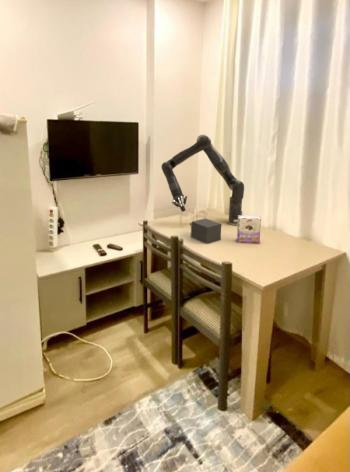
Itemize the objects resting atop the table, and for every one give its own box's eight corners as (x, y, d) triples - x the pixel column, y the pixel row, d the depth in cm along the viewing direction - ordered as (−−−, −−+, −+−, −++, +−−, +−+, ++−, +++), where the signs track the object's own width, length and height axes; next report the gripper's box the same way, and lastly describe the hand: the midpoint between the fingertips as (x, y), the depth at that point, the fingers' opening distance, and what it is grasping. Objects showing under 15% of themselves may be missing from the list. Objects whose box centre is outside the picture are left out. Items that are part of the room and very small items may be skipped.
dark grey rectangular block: (191, 237, 212) (191, 221, 210) (204, 233, 220) (205, 218, 218) (206, 243, 201) (207, 227, 199) (220, 239, 209) (221, 223, 207)
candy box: (258, 240, 209) (259, 215, 206) (259, 243, 203) (261, 218, 200) (236, 239, 210) (237, 214, 207) (237, 242, 204) (238, 217, 201)
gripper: (170, 190, 222) (179, 214, 222) (185, 184, 229) (193, 207, 229) (165, 192, 228) (173, 215, 229) (179, 186, 235) (188, 208, 236)
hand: (183, 211), depth 229 cm, fingers closed
